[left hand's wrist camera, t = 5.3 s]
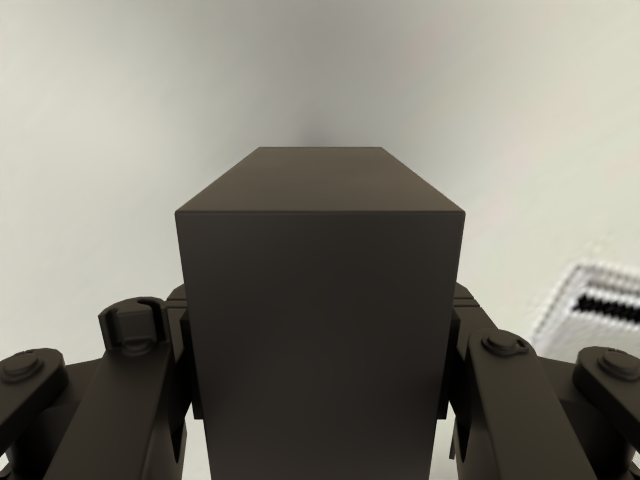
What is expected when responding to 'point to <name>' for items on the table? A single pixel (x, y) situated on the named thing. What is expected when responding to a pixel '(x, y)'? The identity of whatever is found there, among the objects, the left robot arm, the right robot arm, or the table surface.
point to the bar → (320, 313)
